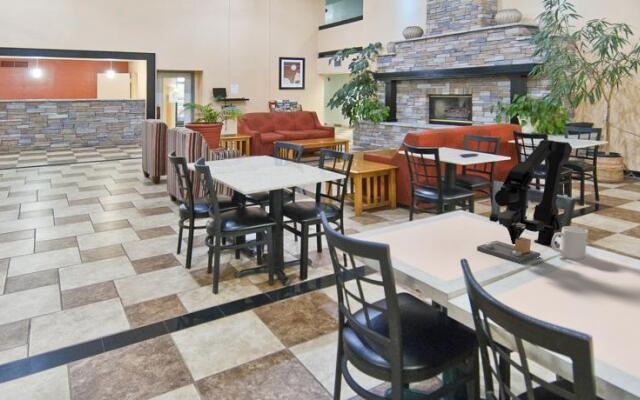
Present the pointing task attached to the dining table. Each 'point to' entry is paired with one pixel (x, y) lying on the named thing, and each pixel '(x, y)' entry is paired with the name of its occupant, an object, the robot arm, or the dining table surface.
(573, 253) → the cup
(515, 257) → the board
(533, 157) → the robot arm
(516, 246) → the orange cube
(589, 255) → the dining table surface
